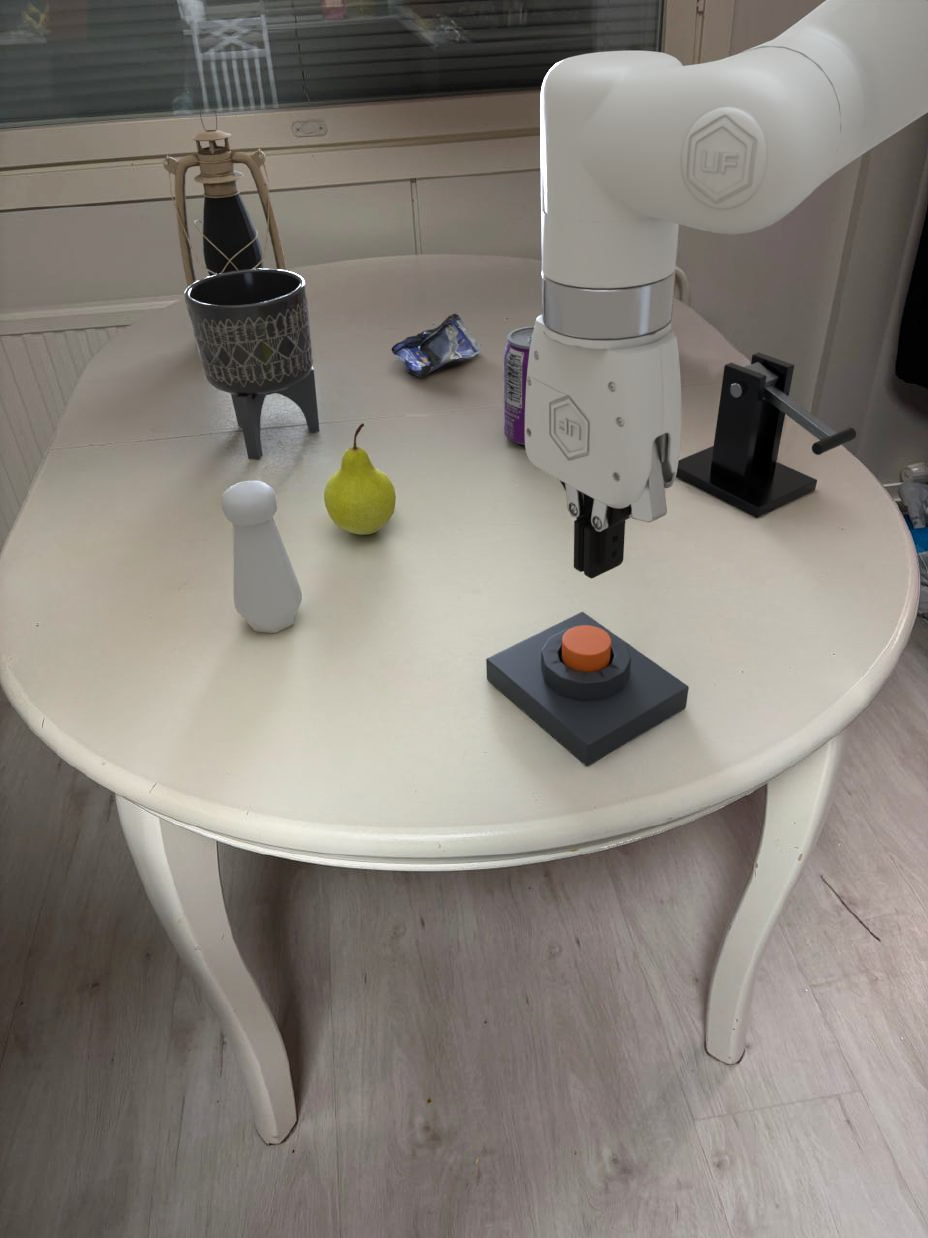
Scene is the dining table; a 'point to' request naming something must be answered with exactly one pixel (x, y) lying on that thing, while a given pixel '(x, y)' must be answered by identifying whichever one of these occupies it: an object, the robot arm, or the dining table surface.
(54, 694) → the dining table surface
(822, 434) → the switch lever
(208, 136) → the lantern
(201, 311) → the planter
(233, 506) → the salt shaker
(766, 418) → the switch bracket
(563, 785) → the dining table surface
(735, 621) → the dining table surface
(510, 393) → the beverage can
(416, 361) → the snack package
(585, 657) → the button
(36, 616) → the dining table surface
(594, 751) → the block
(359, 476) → the fruit
